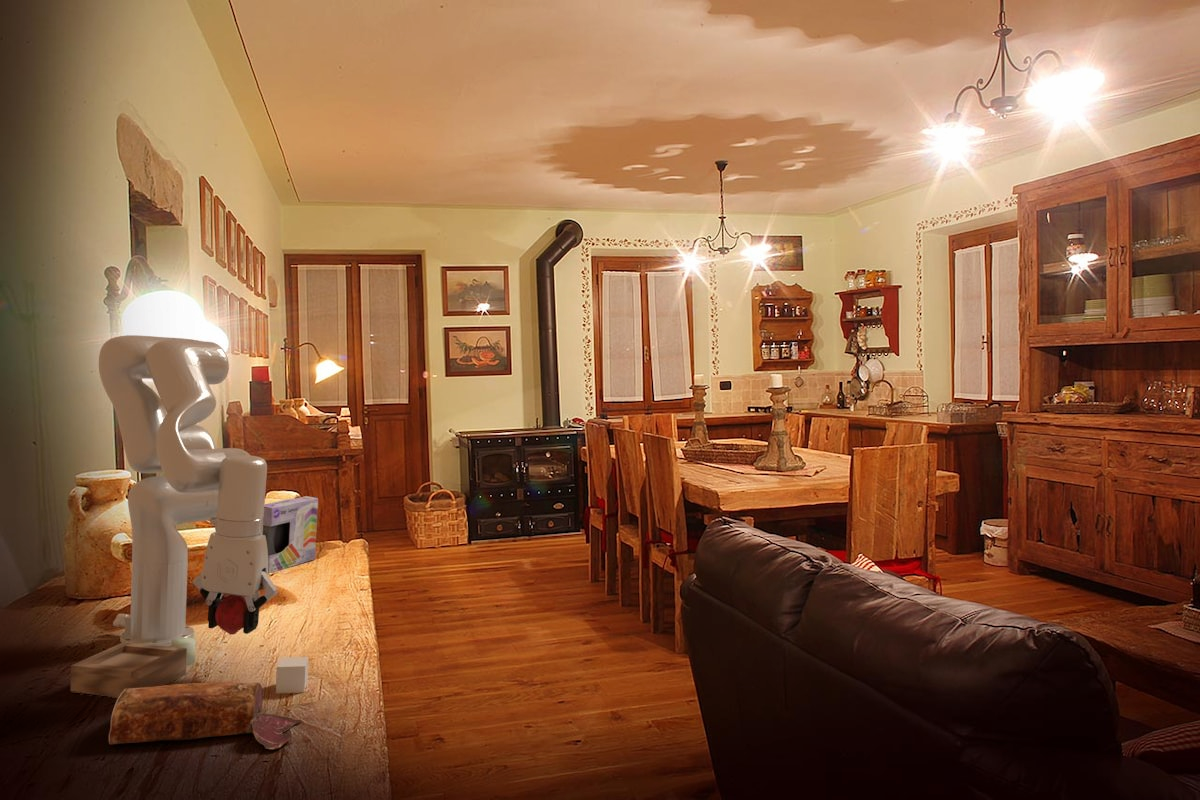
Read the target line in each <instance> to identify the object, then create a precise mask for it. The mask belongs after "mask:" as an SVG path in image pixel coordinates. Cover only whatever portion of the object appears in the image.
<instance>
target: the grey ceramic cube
mask: <svg viewBox="0 0 1200 800" xmlns="http://www.w3.org/2000/svg"><path fill="white" fill-rule="evenodd" d="M309 659H310V657H309V656H303V657H300V656H299V657H295V656H294V657H280V659H279V661H278V663H277V665H276V672H275V673H276V679H275V694H295V693H296V694H298V693H300V692H301V694H302V692H304V693H305V692H306V689H305V688H307V686H308V683H309V681H308V680H309V678H308V677H309ZM307 682H308V683H307ZM306 685H307V686H306Z"/></svg>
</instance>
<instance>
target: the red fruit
mask: <svg viewBox="0 0 1200 800" xmlns="http://www.w3.org/2000/svg"><path fill="white" fill-rule="evenodd" d="M247 610H248V607H247V603H246V600H245V597H243V596H236V595H229V594H228V595H227V596H226V597H224V598H223V599H221V602H220V603H219V605H218V607H217V609H216V612H215V618H216V622H217V624H218V628H220V630H222V631H224V632H226V633H227V634H229V635H230V636H231V635H236V634H237V633H238V632H240V630H241V631H242V629H243V627H244V613H245V611H247Z"/></svg>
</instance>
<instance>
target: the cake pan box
mask: <svg viewBox="0 0 1200 800" xmlns="http://www.w3.org/2000/svg"><path fill="white" fill-rule="evenodd" d="M318 507H319V498H318V497H313V496H307V495H305V496H302V497H300V496H299V497H297V498H290V499H289V498H287V499H283V500H278V501H274V502H269V503H265V504H264V519H263V533H262V535H265V537H266V542H267V550H268V574H271V573H274V572H278V571H282V570H286V569H288V568H291V567H294V566H297V565H301V564H303V563H304V564H305V563H307V562H310V561H313V560H315V559H316V547H317V531H318V530H317V528H318V527H317V526H318V514H319V513H318V511H319V510H318V509H319V508H318Z"/></svg>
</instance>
